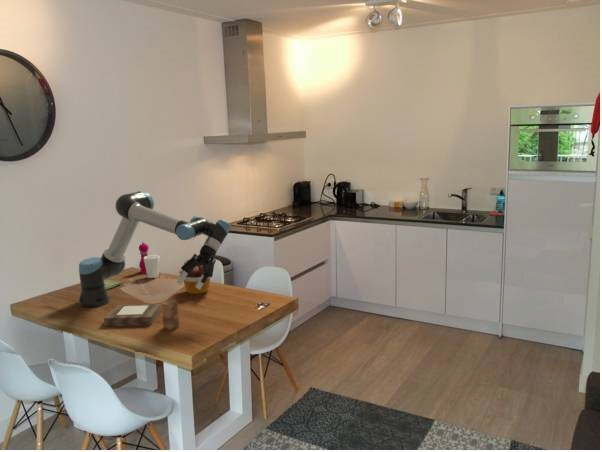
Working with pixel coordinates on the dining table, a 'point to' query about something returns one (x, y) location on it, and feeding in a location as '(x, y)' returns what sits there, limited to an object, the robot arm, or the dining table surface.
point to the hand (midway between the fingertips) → (188, 286)
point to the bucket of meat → (195, 280)
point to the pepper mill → (143, 252)
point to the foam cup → (152, 265)
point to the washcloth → (111, 283)
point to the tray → (132, 315)
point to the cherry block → (170, 315)
